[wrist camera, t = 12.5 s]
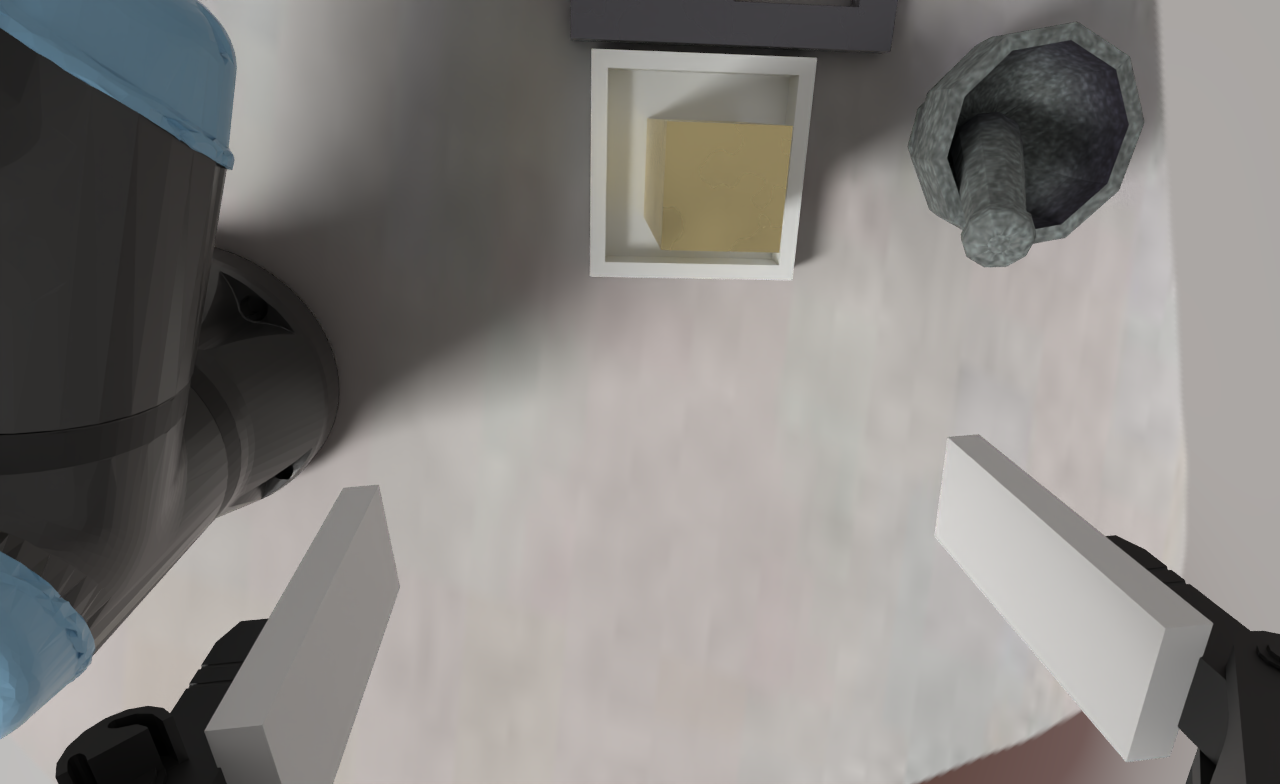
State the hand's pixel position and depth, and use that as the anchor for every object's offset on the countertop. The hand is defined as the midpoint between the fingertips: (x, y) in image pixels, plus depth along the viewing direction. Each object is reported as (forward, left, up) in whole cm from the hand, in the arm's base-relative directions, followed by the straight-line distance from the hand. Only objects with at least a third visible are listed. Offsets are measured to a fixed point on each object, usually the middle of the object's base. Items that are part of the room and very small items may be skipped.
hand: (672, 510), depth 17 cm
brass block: (+3, +6, -25) cm, 26 cm away
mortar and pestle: (+18, +7, -26) cm, 32 cm away
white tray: (+4, +6, -26) cm, 27 cm away
